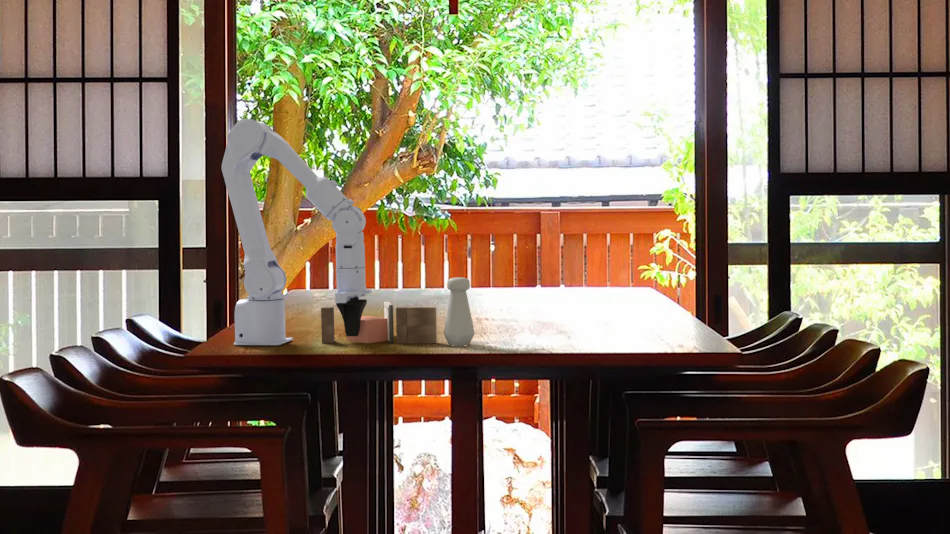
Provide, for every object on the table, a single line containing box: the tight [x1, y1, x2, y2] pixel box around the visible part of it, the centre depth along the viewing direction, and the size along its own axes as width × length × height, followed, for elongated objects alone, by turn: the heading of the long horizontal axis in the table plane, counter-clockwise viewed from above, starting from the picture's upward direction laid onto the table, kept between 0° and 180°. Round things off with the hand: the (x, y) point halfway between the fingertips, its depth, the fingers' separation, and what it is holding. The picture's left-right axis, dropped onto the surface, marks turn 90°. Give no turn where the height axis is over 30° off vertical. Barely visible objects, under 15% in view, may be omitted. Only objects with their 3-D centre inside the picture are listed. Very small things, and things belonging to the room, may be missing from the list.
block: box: [346, 315, 389, 344], centre depth 189 cm, size 7×5×4 cm
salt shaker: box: [443, 276, 475, 347], centre depth 180 cm, size 6×6×13 cm
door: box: [383, 301, 395, 341], centre depth 191 cm, size 11×1×7 cm, turn 10°
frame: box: [320, 304, 438, 345], centre depth 185 cm, size 23×2×8 cm, turn 81°
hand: (352, 335), depth 186 cm, fingers closed, pressing on block
